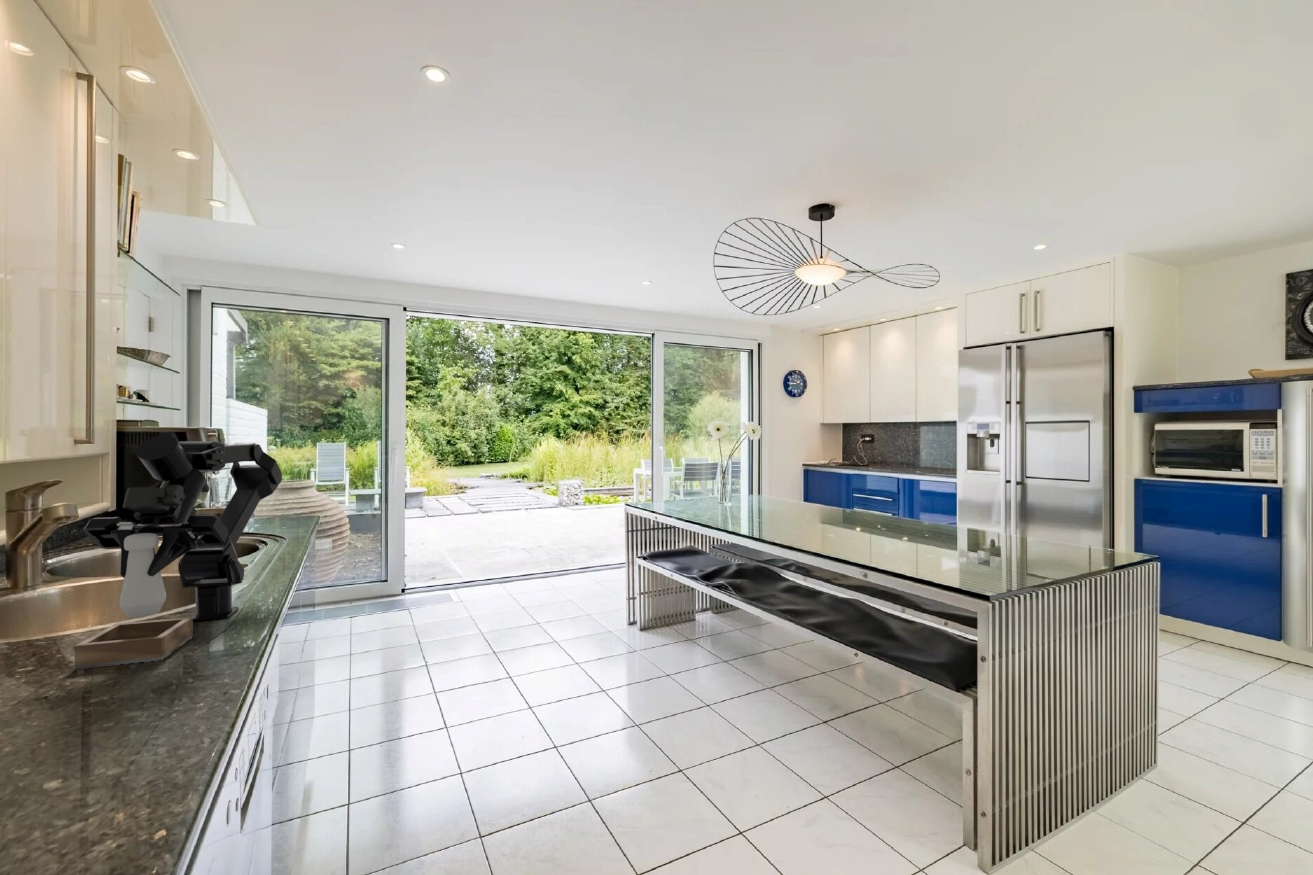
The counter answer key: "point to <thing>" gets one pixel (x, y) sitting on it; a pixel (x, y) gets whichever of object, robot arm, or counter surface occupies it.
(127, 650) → the shaker dock
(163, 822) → the counter surface
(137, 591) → the salt shaker
